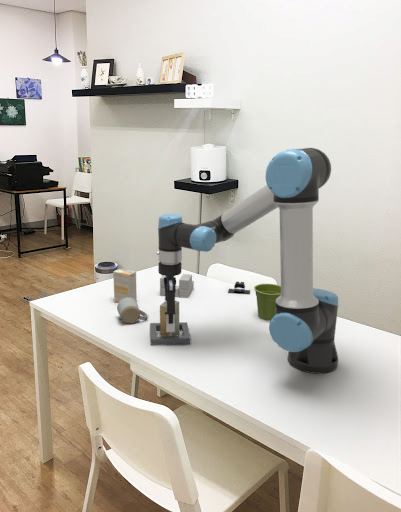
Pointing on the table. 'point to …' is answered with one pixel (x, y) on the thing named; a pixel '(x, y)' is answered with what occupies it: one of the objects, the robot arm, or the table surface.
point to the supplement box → (124, 284)
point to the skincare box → (163, 320)
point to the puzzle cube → (180, 286)
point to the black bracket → (239, 291)
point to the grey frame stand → (169, 339)
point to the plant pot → (267, 299)
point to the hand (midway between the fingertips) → (169, 325)
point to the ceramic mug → (130, 310)
